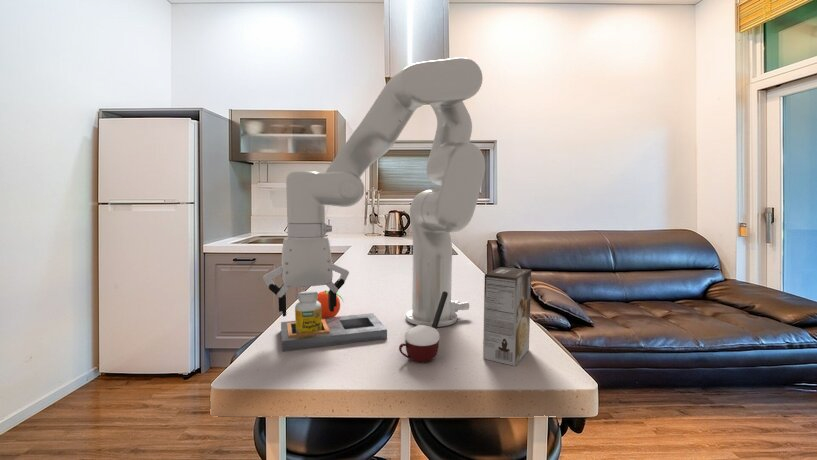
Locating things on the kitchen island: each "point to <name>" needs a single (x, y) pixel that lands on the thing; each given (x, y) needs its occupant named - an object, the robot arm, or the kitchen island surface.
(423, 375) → the kitchen island surface
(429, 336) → the cocoa
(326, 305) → the clementine
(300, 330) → the supplement bottle
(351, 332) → the two-pocket grey tray
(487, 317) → the coffee box
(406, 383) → the kitchen island surface
